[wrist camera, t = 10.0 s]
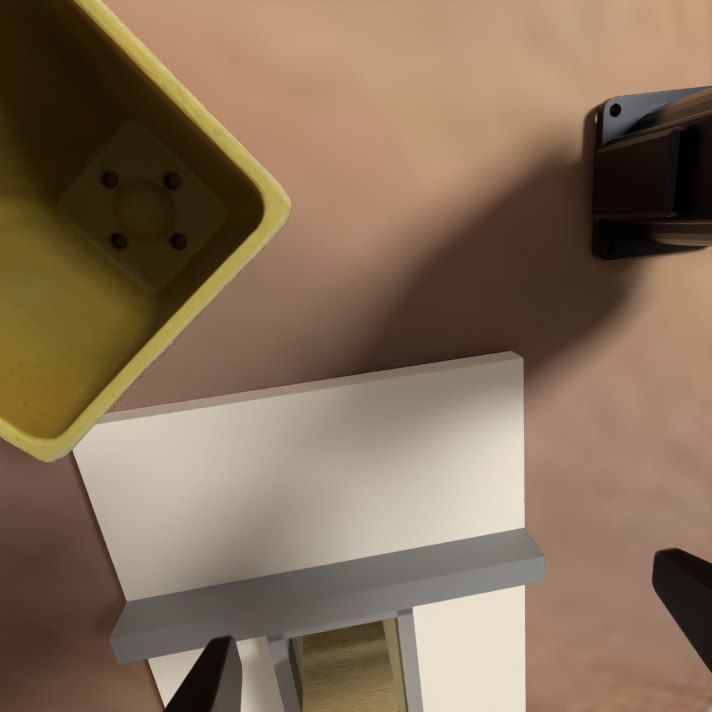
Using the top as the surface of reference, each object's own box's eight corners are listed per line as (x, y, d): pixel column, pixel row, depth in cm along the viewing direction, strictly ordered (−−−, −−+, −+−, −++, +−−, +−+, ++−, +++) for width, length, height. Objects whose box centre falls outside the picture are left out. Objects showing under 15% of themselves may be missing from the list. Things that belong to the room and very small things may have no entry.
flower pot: (164, 363, 19) (46, 476, 10) (-24, 213, 16) (-383, 195, 8) (303, 217, 18) (302, 207, 9) (125, 32, 15) (-102, -216, 7)
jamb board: (511, 350, 20) (547, 372, 17) (516, 694, 27) (542, 752, 24) (79, 417, 19) (36, 453, 16) (198, 762, 26) (184, 833, 23)
